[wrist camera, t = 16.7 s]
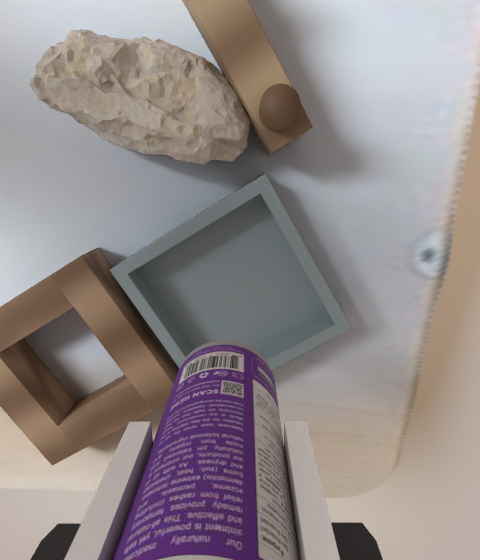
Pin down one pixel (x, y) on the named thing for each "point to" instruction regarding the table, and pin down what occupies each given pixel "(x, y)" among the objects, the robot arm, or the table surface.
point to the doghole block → (113, 336)
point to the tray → (234, 281)
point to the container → (215, 467)
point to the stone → (144, 96)
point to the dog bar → (251, 69)
